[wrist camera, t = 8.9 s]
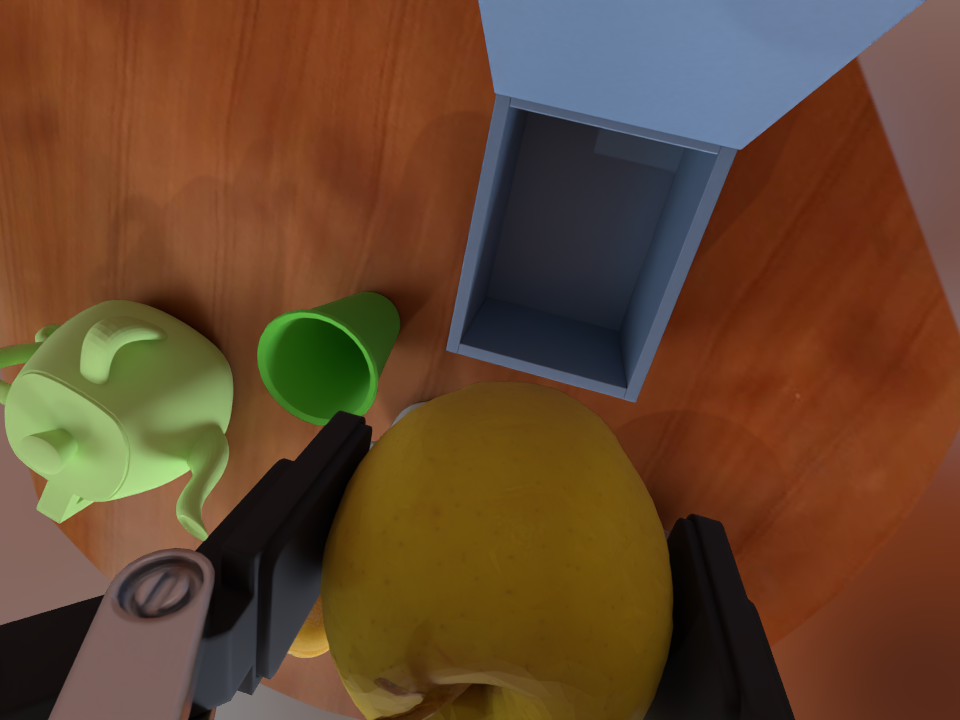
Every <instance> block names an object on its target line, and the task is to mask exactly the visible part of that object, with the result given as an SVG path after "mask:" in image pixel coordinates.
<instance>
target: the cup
mask: <svg viewBox="0 0 960 720" xmlns="http://www.w3.org/2000/svg"><path fill="white" fill-rule="evenodd" d="M399 331H400V318H399V314H398V312H397V309H396V308H395V306H394V305H393V303H392V302H391V301H390V300H388V299H387V298H386V297H384V296H382V295H380V294H377V293H374V292H361V293H357V294H354V295H352V296H349V297H346V298H343V299H340V300H337V301H334V302H331V303H328V304H325V305H322V306H319V307H316V308H313V309H310V310H304V309H301V310H295V311H289V312H286V313H284V314H282V315H280V316H278V317H276V318H275V319H274V320H273V321H272V322H271V323H270V324H268V325H267V326H266V328H265V330H264V332H263V334H262V335H261V337H260V341H259V346H258V351H257V360H258V368H259V371H260V375H261V378H262V380H263V382H264V384H265V386H266V388H267V390H268V391H269V393H270V394H271V395H272V397H273V398H274V399H275V400H276V401H277V403H278V404H279V405H281V406H282V407H283V408H284V409H285V410H287V411H288V412H289V413H291V414H292V415H294V416H296V417H298V418H299V419H301V420H303V421H306V422H309V423H312V424H315V425H322V426H325V425H326V424H327V423H328V422H329V421H330V419H331V418H332V417H333V416H334V415H335V414H336V413H337V412H338V411H340V410H341V411H345V412H348V413H351V414H355V415H358V416H362V415H364V414H365V413H366V412H367V411H368V409H369V408H370V407H371V405H372V404H373V402H374V399H375V397H376V394H377V391H378V380H379V377H380V375H381V373H382V371H383V368H384V366H385V364H386V361H387V359H388V357H389V355H390V352H391V350H392V348H393V346H394V343H395V341H396V339H397V336H398V334H399Z"/></svg>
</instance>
